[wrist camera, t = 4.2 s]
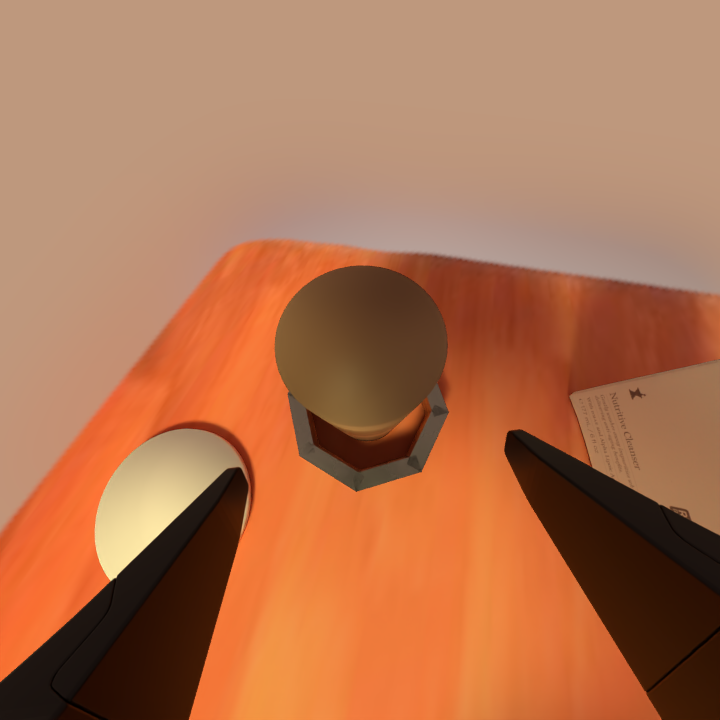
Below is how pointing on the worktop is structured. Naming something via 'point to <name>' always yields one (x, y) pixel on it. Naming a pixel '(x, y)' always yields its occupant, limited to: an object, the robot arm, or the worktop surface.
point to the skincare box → (660, 437)
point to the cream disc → (158, 491)
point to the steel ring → (377, 473)
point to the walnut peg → (361, 348)
